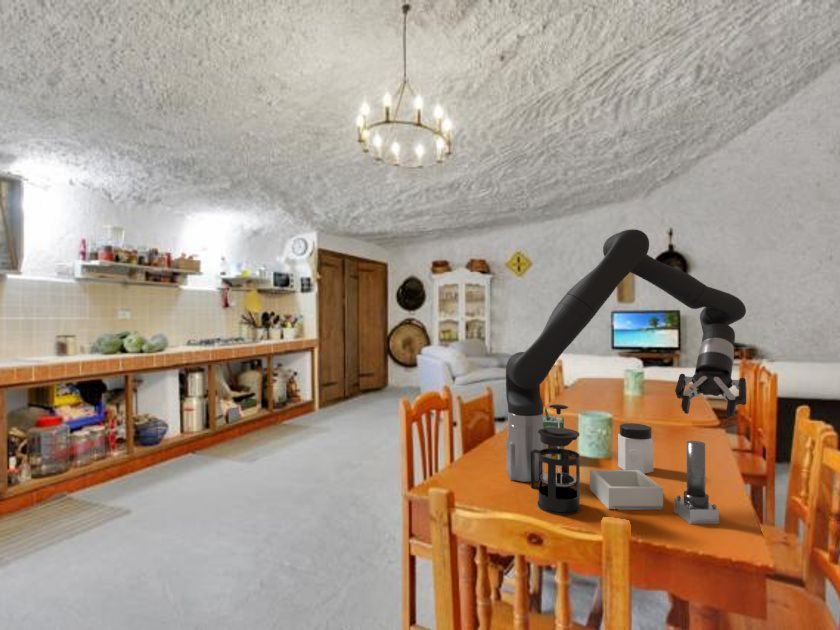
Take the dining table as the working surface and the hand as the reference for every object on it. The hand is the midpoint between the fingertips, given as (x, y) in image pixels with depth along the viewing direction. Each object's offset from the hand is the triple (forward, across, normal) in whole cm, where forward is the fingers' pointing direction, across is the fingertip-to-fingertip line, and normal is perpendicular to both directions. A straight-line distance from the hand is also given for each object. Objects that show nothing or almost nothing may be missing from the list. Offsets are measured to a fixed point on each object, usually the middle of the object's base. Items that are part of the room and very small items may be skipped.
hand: (706, 414), depth 108 cm
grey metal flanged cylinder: (+20, 0, +4) cm, 21 cm away
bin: (+22, -15, +6) cm, 27 cm away
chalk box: (+9, -43, +20) cm, 49 cm away
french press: (+32, -25, -4) cm, 41 cm away
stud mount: (+22, 0, +6) cm, 23 cm away
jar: (+6, -20, +23) cm, 31 cm away
